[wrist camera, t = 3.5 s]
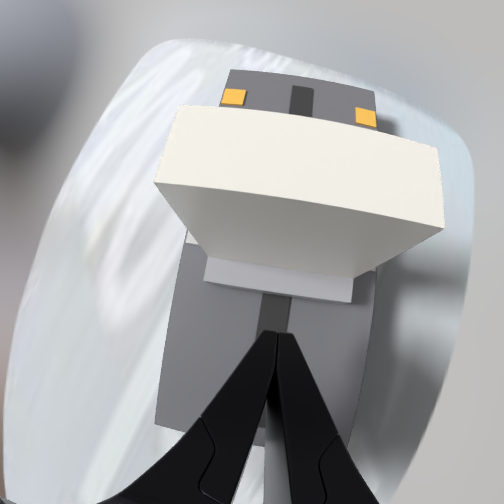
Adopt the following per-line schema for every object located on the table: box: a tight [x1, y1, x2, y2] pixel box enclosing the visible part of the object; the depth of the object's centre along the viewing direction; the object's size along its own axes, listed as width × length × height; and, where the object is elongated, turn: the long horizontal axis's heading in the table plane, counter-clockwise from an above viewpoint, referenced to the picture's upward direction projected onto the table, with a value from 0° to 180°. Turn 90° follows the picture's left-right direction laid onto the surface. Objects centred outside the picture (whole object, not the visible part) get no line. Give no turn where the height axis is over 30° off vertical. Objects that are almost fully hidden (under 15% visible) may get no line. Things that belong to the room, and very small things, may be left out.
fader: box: [154, 105, 445, 304], centre depth 10 cm, size 4×6×8 cm, turn 81°
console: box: [155, 69, 377, 449], centre depth 15 cm, size 20×9×3 cm, turn 171°
